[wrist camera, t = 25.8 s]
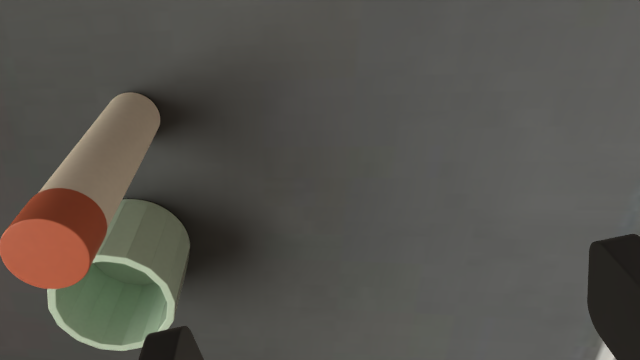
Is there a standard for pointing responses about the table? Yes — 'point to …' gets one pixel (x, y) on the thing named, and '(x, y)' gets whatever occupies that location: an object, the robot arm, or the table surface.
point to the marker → (80, 197)
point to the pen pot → (127, 280)
